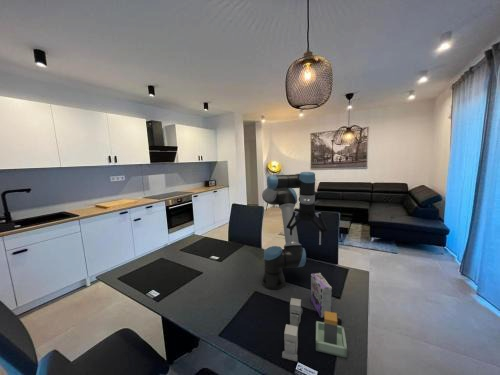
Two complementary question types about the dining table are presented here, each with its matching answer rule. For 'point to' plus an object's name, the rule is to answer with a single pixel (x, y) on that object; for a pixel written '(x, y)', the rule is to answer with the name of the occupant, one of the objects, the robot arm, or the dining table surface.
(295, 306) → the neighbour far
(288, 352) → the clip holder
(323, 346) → the tray
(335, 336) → the block
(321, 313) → the candy box
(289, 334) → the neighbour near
